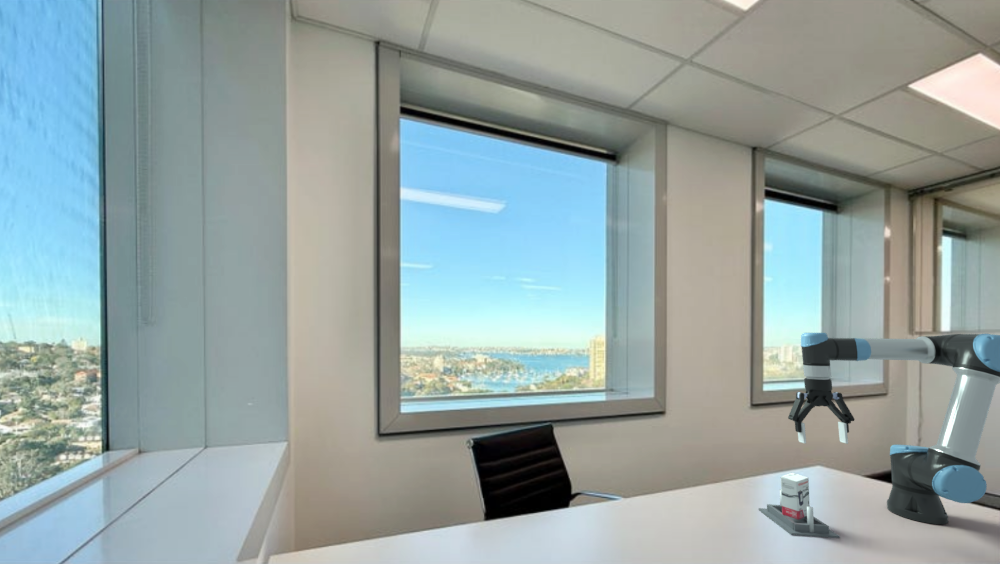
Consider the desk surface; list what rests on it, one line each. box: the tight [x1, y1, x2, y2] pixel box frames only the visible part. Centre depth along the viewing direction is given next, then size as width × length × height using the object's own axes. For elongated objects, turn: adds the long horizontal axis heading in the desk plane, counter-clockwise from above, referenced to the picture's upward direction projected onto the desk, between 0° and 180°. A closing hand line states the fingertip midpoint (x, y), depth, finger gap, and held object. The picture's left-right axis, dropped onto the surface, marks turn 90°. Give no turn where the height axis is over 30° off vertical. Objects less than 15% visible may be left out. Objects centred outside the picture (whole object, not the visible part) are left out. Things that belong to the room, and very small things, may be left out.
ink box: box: [780, 472, 811, 520], centre depth 138 cm, size 8×5×12 cm, turn 123°
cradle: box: [758, 488, 841, 539], centre depth 138 cm, size 14×18×8 cm
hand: (823, 442), depth 143 cm, fingers open, 13 cm apart
